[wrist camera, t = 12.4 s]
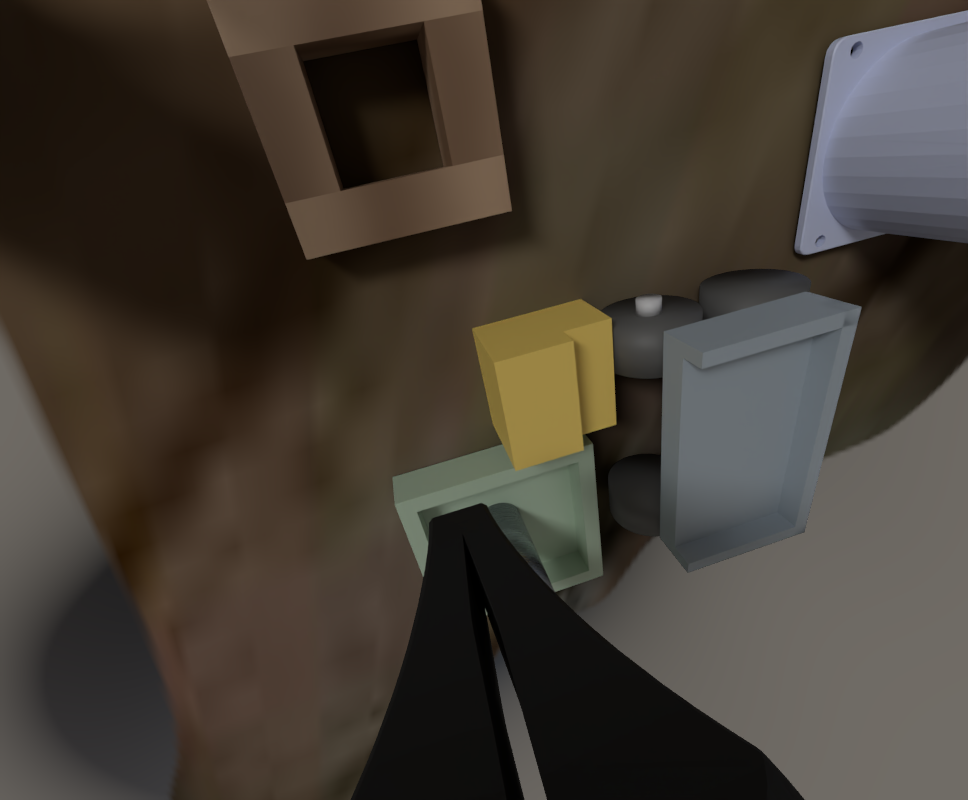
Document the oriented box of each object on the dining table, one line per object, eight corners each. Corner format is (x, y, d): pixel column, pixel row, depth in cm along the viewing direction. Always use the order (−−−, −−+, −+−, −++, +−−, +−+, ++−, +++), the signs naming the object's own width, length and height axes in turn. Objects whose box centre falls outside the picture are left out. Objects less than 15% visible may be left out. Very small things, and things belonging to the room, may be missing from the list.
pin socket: (457, -42, 13) (470, -74, 11) (496, 206, 17) (511, 210, 15) (219, -2, 12) (195, -29, 11) (313, 249, 16) (306, 259, 14)
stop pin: (521, 491, 23) (576, 606, 17) (528, 531, 24) (581, 651, 18) (466, 508, 22) (502, 632, 16) (477, 547, 24) (513, 675, 18)
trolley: (759, 250, 20) (901, 279, 15) (734, 457, 26) (827, 531, 21) (581, 298, 19) (664, 347, 14) (597, 501, 25) (659, 591, 20)
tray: (575, 422, 22) (592, 443, 20) (588, 549, 27) (603, 575, 25) (392, 477, 21) (394, 504, 19) (439, 599, 26) (444, 629, 24)
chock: (579, 298, 19) (624, 326, 16) (587, 394, 22) (627, 436, 18) (471, 327, 19) (494, 362, 15) (491, 422, 21) (515, 471, 18)
